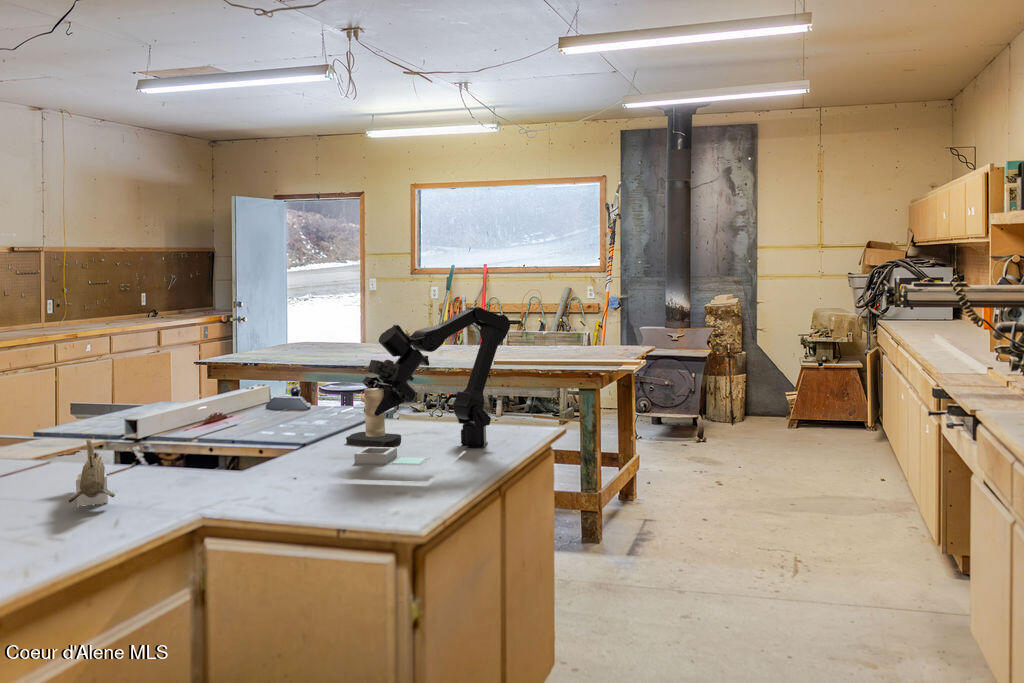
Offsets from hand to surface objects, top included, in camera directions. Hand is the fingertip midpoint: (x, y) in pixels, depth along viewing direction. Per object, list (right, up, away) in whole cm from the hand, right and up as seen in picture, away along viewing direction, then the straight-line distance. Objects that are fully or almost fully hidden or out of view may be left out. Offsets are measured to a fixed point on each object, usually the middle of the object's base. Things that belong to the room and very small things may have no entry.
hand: (370, 413), depth 215 cm
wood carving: (-57, -17, -29) cm, 67 cm away
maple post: (+1, -6, +1) cm, 6 cm away
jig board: (+6, -13, +1) cm, 15 cm away
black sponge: (-3, -12, +24) cm, 27 cm away
